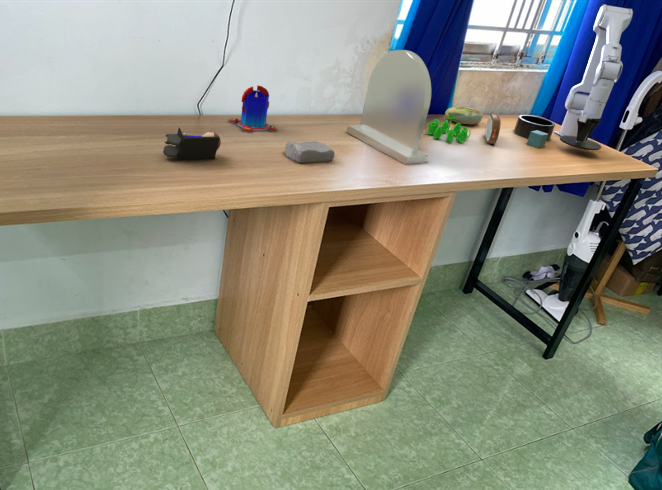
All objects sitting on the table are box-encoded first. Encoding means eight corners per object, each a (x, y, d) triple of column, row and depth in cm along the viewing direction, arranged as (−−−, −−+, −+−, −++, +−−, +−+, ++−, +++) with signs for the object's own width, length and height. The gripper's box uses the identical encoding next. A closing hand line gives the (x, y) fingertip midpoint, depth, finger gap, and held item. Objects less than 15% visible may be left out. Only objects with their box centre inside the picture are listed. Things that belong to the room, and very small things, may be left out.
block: (532, 142, 214) (537, 130, 212) (544, 146, 211) (548, 134, 209) (526, 144, 211) (530, 131, 209) (537, 148, 209) (542, 135, 206)
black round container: (537, 130, 229) (542, 116, 226) (556, 142, 219) (562, 127, 216) (507, 128, 226) (512, 113, 223) (525, 139, 216) (531, 124, 213)
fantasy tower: (244, 132, 180) (249, 91, 174) (227, 120, 188) (230, 80, 182) (279, 131, 186) (284, 90, 179) (260, 119, 194) (265, 80, 188)
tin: (495, 147, 202) (503, 122, 198) (485, 145, 203) (493, 120, 198) (491, 135, 215) (498, 111, 211) (482, 133, 215) (489, 109, 211)
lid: (582, 139, 218) (587, 126, 215) (608, 152, 207) (614, 139, 204) (550, 137, 214) (555, 124, 211) (576, 151, 203) (581, 137, 200)
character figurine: (160, 155, 156) (215, 154, 162) (168, 163, 150) (225, 162, 157) (160, 124, 152) (217, 124, 159) (168, 131, 147) (227, 131, 153)
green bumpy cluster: (451, 147, 196) (457, 125, 192) (414, 132, 205) (420, 111, 201) (477, 142, 205) (483, 121, 201) (440, 128, 214) (446, 108, 210)
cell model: (437, 110, 225) (471, 95, 228) (441, 130, 228) (474, 116, 231) (455, 113, 215) (490, 97, 218) (459, 134, 219) (493, 119, 222)
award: (427, 162, 180) (453, 63, 165) (405, 164, 175) (430, 63, 161) (367, 131, 199) (386, 40, 184) (346, 132, 194) (364, 39, 179)
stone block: (280, 158, 171) (298, 163, 162) (281, 140, 169) (299, 145, 161) (316, 157, 176) (335, 163, 168) (318, 140, 174) (337, 145, 166)
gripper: (593, 95, 209) (577, 134, 216) (577, 98, 200) (561, 139, 207) (614, 100, 205) (597, 140, 212) (598, 104, 196) (581, 146, 203)
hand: (581, 140), depth 209 cm, fingers closed on lid, 2 cm apart
